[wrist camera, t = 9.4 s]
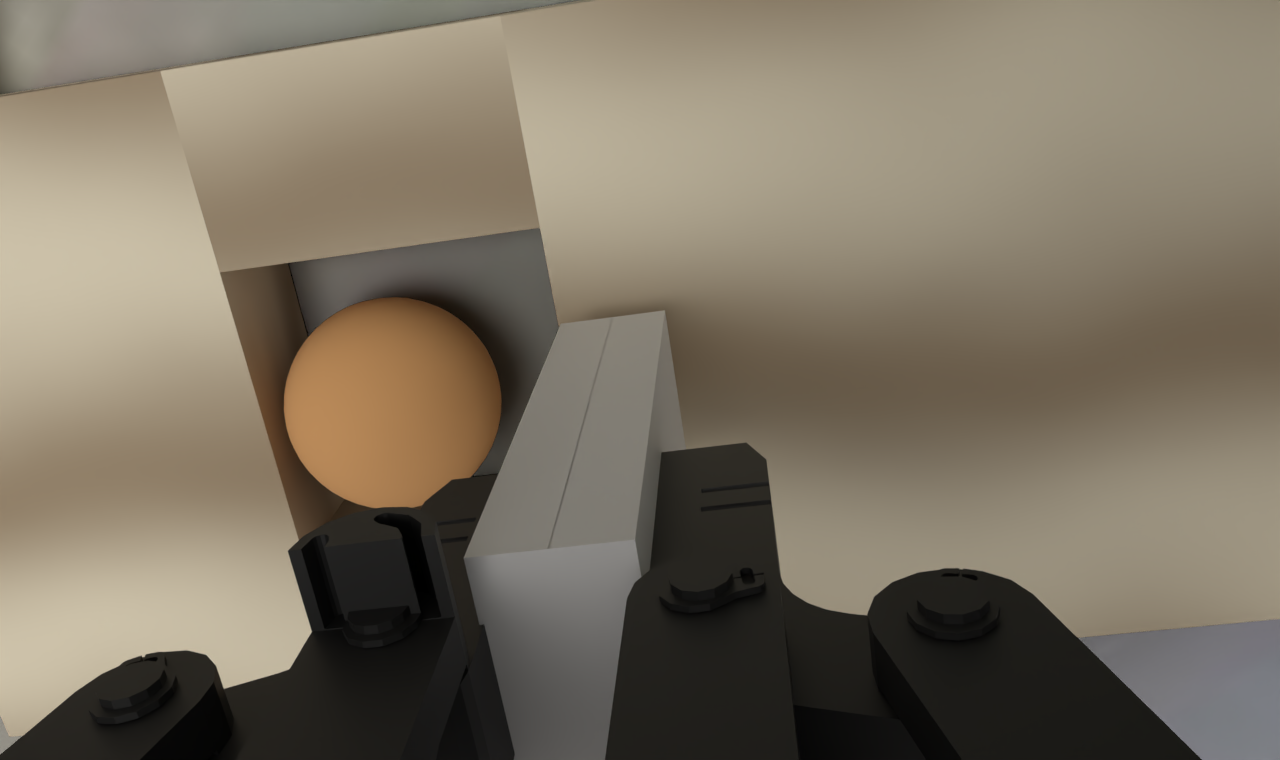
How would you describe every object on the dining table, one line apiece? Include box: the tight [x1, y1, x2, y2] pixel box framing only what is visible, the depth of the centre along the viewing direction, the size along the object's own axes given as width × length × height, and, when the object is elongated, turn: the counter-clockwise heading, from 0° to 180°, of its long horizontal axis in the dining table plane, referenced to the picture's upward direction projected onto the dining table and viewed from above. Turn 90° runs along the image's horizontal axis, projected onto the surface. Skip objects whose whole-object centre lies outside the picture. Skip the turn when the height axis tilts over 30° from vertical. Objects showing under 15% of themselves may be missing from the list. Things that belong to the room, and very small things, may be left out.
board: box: [0, 0, 1280, 737], centre depth 18 cm, size 11×30×2 cm, turn 99°
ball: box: [284, 297, 501, 508], centre depth 18 cm, size 4×4×4 cm
